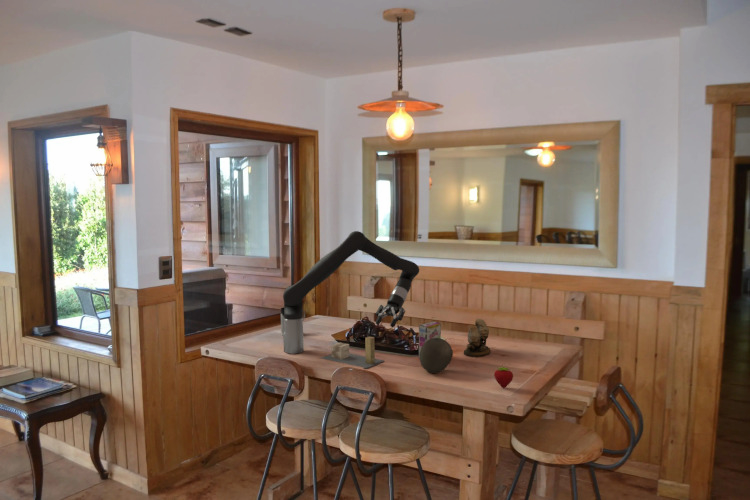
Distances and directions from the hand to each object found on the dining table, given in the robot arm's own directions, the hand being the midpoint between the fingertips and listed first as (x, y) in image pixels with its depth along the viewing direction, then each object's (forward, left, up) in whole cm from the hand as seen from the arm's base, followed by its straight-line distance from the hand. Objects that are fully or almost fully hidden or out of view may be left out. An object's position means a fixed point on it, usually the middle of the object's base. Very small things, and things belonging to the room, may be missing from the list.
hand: (384, 325), depth 268 cm
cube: (-18, -12, -15) cm, 26 cm away
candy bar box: (+17, +13, -16) cm, 27 cm away
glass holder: (-72, +10, -16) cm, 75 cm away
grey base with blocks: (-11, -12, -16) cm, 23 cm away
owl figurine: (+32, +33, -16) cm, 49 cm away
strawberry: (+64, -8, -16) cm, 66 cm away
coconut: (+31, -5, -16) cm, 35 cm away
